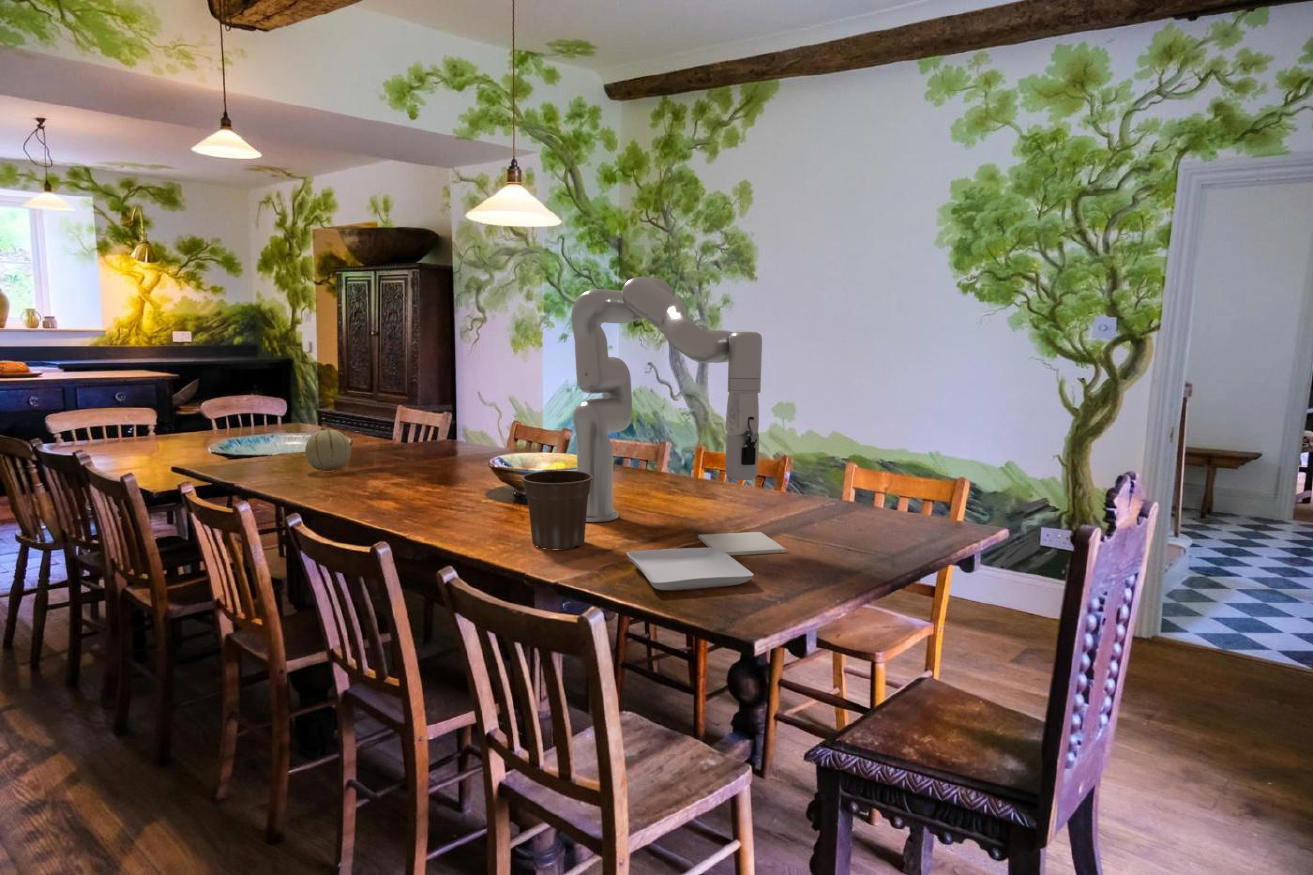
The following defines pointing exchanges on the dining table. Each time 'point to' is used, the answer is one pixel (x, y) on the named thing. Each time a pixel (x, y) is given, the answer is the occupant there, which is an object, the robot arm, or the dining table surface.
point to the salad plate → (689, 568)
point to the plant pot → (557, 507)
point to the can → (739, 458)
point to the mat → (742, 543)
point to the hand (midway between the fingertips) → (742, 461)
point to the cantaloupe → (328, 450)
